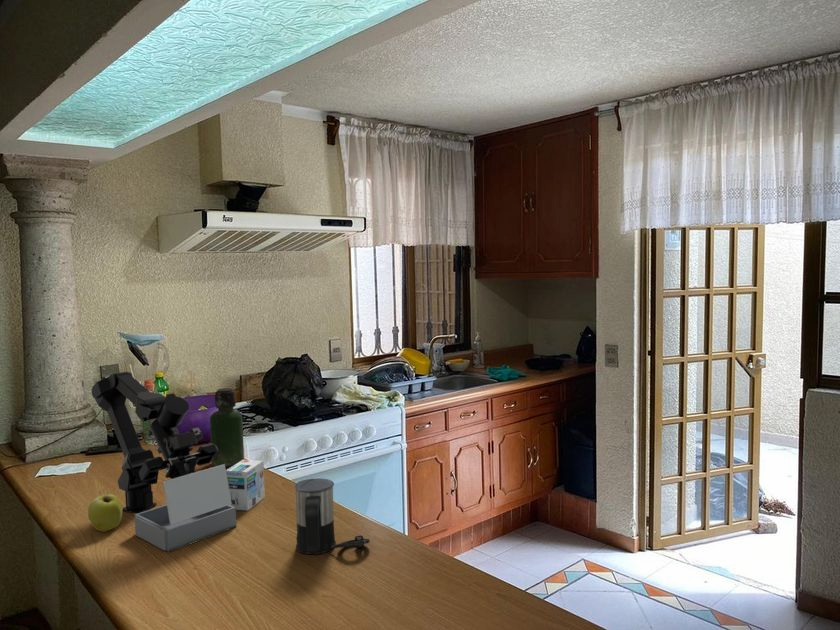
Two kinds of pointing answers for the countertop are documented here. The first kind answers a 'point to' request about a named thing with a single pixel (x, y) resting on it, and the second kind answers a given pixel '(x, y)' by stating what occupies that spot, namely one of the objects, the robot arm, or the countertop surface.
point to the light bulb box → (246, 484)
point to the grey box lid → (197, 493)
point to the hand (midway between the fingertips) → (193, 489)
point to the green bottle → (227, 429)
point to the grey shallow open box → (182, 526)
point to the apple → (105, 512)
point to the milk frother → (318, 518)
